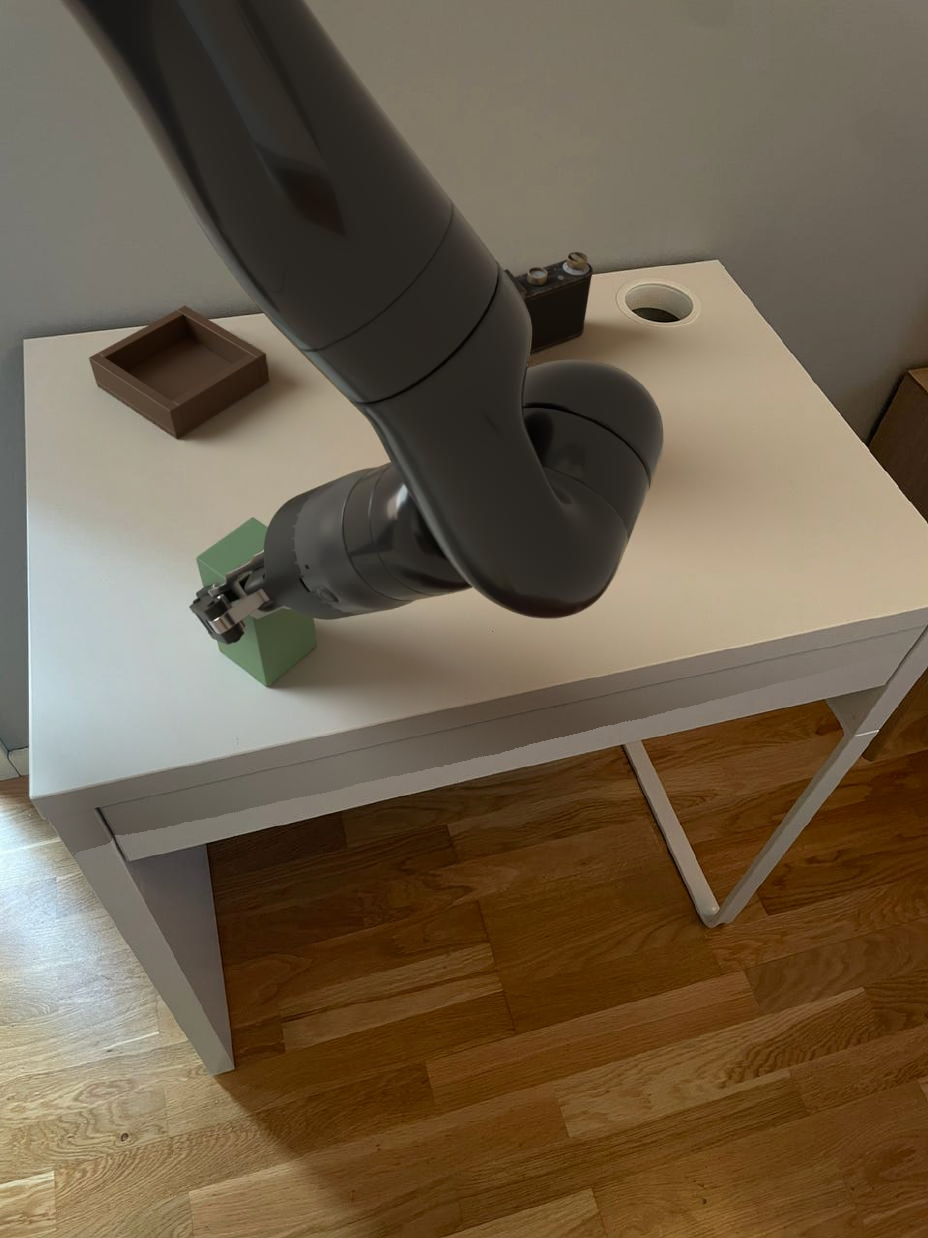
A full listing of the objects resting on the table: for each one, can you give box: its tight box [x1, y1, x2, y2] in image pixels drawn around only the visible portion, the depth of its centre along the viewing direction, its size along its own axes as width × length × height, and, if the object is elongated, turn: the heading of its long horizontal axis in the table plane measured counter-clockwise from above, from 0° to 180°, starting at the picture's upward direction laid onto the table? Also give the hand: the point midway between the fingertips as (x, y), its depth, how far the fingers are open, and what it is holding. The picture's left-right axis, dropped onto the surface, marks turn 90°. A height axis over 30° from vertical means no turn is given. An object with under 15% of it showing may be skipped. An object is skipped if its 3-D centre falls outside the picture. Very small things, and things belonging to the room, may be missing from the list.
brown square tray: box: [88, 305, 270, 440], centre depth 88 cm, size 11×11×3 cm
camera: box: [503, 251, 594, 356], centre depth 92 cm, size 16×7×8 cm, turn 123°
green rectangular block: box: [195, 516, 318, 688], centre depth 67 cm, size 5×5×10 cm
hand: (239, 580), depth 67 cm, fingers closed on green rectangular block, 5 cm apart
